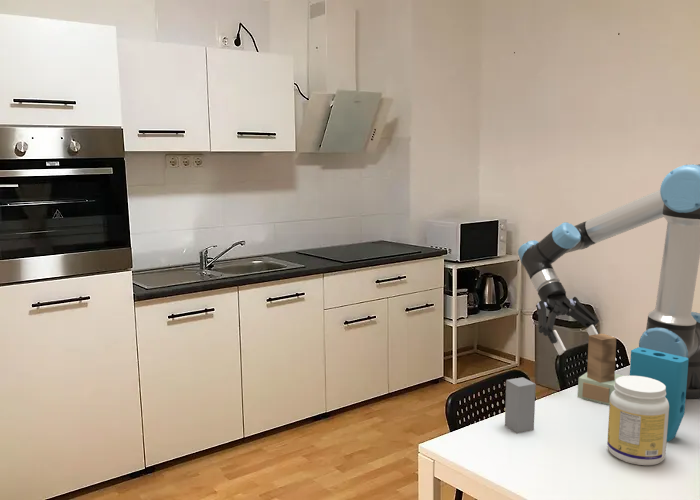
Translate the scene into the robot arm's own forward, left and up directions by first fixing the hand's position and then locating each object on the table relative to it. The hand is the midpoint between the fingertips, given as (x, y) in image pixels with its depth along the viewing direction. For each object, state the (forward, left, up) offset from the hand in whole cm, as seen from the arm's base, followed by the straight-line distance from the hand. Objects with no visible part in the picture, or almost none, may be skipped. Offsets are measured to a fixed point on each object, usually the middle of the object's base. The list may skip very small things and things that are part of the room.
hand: (581, 349), depth 178 cm
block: (-24, +15, -13) cm, 31 cm away
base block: (-6, -1, -13) cm, 14 cm away
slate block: (+3, +33, -13) cm, 35 cm away
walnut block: (-6, 0, -7) cm, 9 cm away
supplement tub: (-24, +29, -13) cm, 39 cm away
